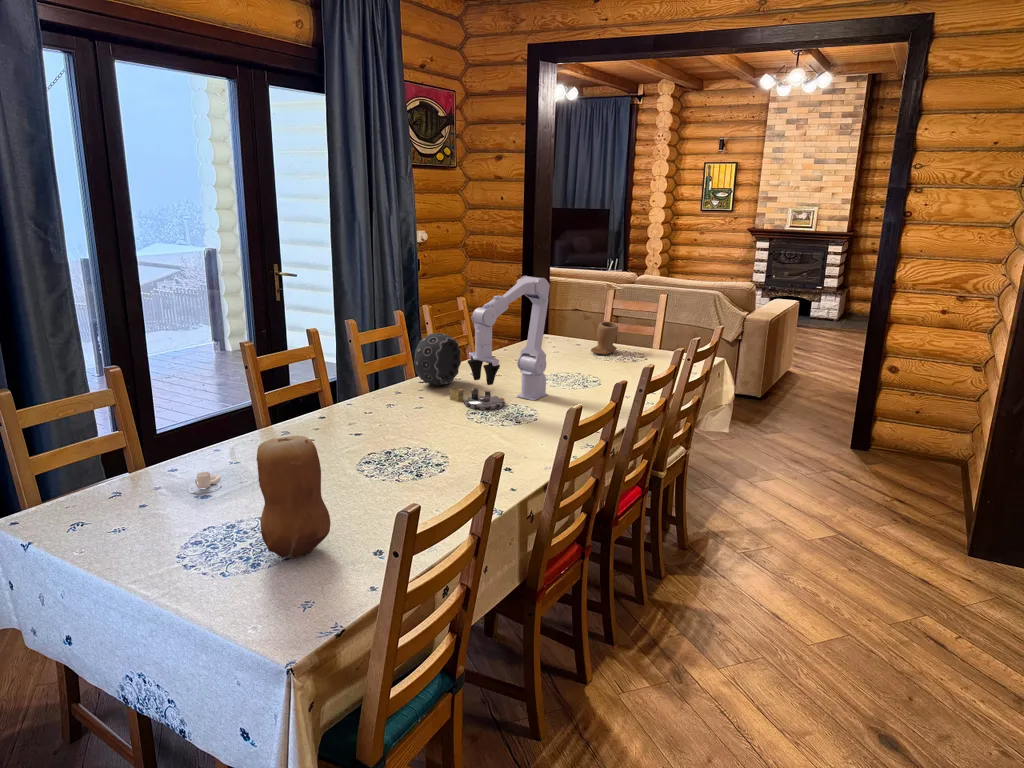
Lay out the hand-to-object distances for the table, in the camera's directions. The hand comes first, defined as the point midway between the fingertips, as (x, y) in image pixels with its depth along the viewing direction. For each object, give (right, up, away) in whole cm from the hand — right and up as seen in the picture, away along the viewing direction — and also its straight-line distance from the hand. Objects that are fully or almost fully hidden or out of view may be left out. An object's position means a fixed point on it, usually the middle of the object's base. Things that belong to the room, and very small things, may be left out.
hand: (483, 382), depth 237 cm
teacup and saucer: (-64, -27, -64) cm, 94 cm away
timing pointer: (+1, -6, +16) cm, 17 cm away
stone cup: (+54, +14, +94) cm, 109 cm away
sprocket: (0, -8, +8) cm, 11 cm away
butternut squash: (-34, -36, -95) cm, 107 cm away
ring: (-19, -1, +33) cm, 38 cm away
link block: (-10, -6, +13) cm, 18 cm away
